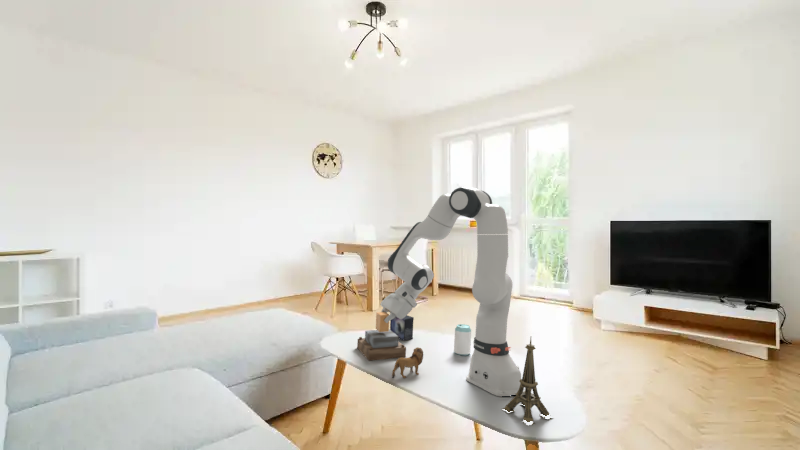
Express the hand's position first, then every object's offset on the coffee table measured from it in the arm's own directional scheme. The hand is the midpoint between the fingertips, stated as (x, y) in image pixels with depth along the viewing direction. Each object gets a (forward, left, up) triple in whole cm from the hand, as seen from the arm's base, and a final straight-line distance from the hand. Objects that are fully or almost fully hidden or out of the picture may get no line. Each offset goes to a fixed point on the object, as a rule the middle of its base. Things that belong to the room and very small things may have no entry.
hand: (382, 319), depth 163 cm
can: (-10, -34, -14) cm, 38 cm away
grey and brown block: (0, 0, -14) cm, 14 cm away
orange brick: (0, 0, -4) cm, 4 cm away
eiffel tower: (-62, -24, -14) cm, 68 cm away
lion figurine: (-25, -2, -14) cm, 28 cm away
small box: (+18, -17, -14) cm, 29 cm away
